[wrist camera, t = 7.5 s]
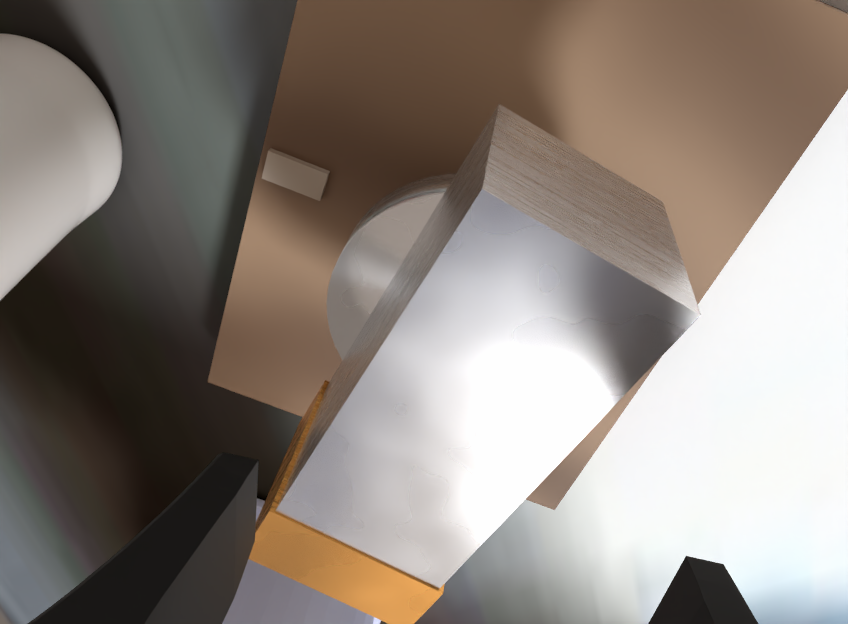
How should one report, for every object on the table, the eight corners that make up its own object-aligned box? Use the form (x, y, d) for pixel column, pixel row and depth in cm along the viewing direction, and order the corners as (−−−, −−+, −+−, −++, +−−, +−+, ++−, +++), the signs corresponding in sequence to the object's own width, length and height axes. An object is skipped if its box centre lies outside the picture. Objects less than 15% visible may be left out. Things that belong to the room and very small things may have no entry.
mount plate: (554, 476, 25) (555, 573, 22) (225, 354, 24) (173, 434, 21) (860, 18, 16) (942, 60, 13) (361, -197, 15) (310, -212, 12)
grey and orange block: (703, 206, 15) (769, 355, 10) (472, 474, 20) (451, 652, 15) (448, 53, 14) (403, 145, 9) (274, 373, 19) (190, 532, 14)
